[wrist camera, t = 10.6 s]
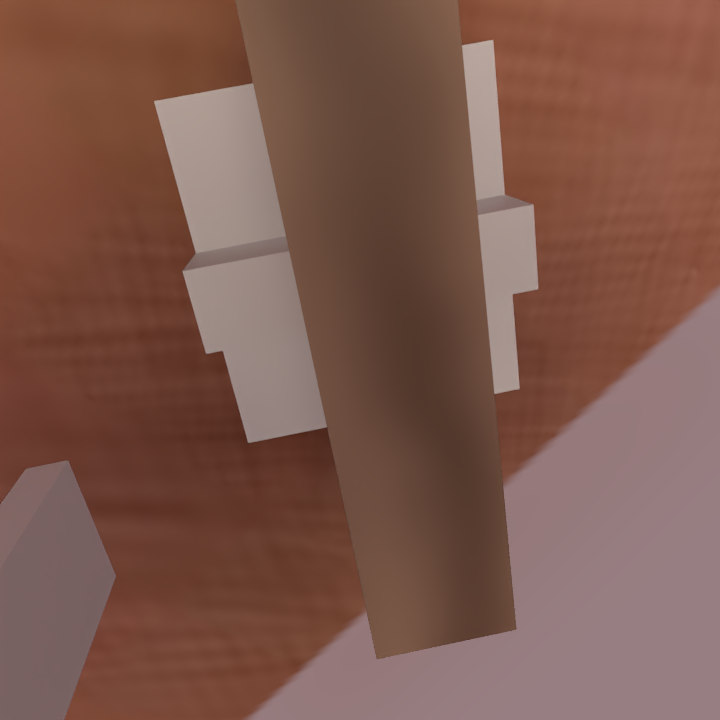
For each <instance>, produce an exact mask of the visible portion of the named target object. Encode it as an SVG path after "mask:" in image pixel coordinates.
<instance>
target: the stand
mask: <svg viewBox="0 0 720 720" xmlns="http://www.w3.org/2000/svg"><path fill="white" fill-rule="evenodd" d="M462 50H463V61H464V72H465V83H466V93H467V104H468V115H469V126H470V137H471V147H472V158H473V169H474V180H475V190H476V201H477V212H478V223H479V233H480V244H481V255H482V266H483V276H484V287H485V298H486V309H487V319H488V330H489V341H490V352H491V362H492V373H493V384H494V394H496V393H501V392H506V391H511V390H516V389H520V387H519V374H518V361H517V348H516V335H515V322H514V309H513V295H512V294H516V293H521V292H527V291H532V290H537V289H538V274H537V257H536V240H535V223H534V206H533V204H530V203H528V202H525V201H522V200H519V199H516V198H513V197H510V196H507V195H505V190H504V177H503V164H502V151H501V138H500V124H499V111H498V98H497V85H496V72H495V59H494V45H493V40H489V41H484V42H478V43H473V44H467V45H462ZM154 103H155V106H156V110H157V114H158V117H159V121H160V125H161V128H162V132H163V135H164V139H165V143H166V146H167V150H168V154H169V157H170V161H171V164H172V168H173V172H174V175H175V179H176V183H177V186H178V190H179V194H180V197H181V201H182V204H183V208H184V212H185V215H186V219H187V223H188V226H189V230H190V234H191V237H192V241H193V244H194V248H195V252H196V254H195V255H194V256H193V258H192V259H191V260H190V262H189V263H188V264H187V266H186V267H185V268H184V270H183V271H182V272H183V275H184V278H185V282H186V285H187V289H188V292H189V296H190V299H191V303H192V306H193V310H194V313H195V317H196V320H197V324H198V327H199V331H200V334H201V338H202V341H203V345H204V348H205V352H206V354H208V353H213V352H218V351H223V353H224V357H225V361H226V364H227V368H228V372H229V375H230V379H231V382H232V386H233V390H234V393H235V397H236V401H237V404H238V408H239V411H240V415H241V419H242V422H243V426H244V430H245V433H246V437H247V441H248V443H251V442H256V441H261V440H266V439H271V438H276V437H281V436H286V435H291V434H296V433H301V432H306V431H311V430H316V429H321V428H326V427H327V425H326V420H325V416H324V411H323V406H322V402H321V397H320V392H319V388H318V383H317V378H316V374H315V369H314V364H313V360H312V355H311V350H310V346H309V341H308V336H307V332H306V327H305V322H304V318H303V313H302V308H301V304H300V299H299V295H298V290H297V285H296V281H295V276H294V271H293V267H292V262H291V257H290V253H289V248H288V243H287V239H286V234H285V229H284V225H283V220H282V215H281V211H280V206H279V201H278V197H277V192H276V187H275V183H274V178H273V174H272V169H271V164H270V160H269V155H268V150H267V146H266V141H265V136H264V132H263V127H262V122H261V118H260V113H259V108H258V104H257V99H256V94H255V90H254V85H253V83H252V84H246V85H241V86H235V87H230V88H224V89H219V90H213V91H208V92H202V93H197V94H191V95H186V96H180V97H175V98H169V99H164V100H158V101H154Z"/></svg>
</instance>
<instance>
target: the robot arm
mask: <svg viewBox="0 0 720 720" xmlns="http://www.w3.org/2000/svg"><path fill="white" fill-rule="evenodd" d="M115 578H116V575H115V572H114V570H113V568H112V565H111V563H110V560H109V558H108V556H107V553H106V551H105V548H104V546H103V543H102V541H101V539H100V536H99V534H98V531H97V529H96V527H95V524H94V522H93V519H92V517H91V514H90V512H89V510H88V507H87V505H86V502H85V500H84V498H83V495H82V493H81V490H80V488H79V485H78V483H77V481H76V478H75V476H74V473H73V471H72V469H71V466H70V464H69V461H68V460H66V461H61V462H57V463H52V464H47V465H42V466H37V467H32V468H28V469H26V470H25V471H24V472H23V474H22V475H21V477H20V478H19V479H18V481H17V482H16V483H15V485H14V486H13V487H12V489H11V490H10V492H9V493H8V494H7V496H6V497H5V498H4V500H3V501H2V503H1V504H0V720H64V719H65V716H66V713H67V711H68V708H69V705H70V702H71V700H72V697H73V694H74V691H75V688H76V686H77V683H78V680H79V677H80V675H81V672H82V669H83V666H84V663H85V661H86V658H87V655H88V652H89V650H90V647H91V644H92V641H93V639H94V636H95V633H96V630H97V627H98V625H99V622H100V619H101V616H102V614H103V611H104V608H105V605H106V602H107V600H108V597H109V594H110V591H111V589H112V586H113V583H114V580H115Z"/></svg>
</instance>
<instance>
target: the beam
mask: <svg viewBox="0 0 720 720" xmlns="http://www.w3.org/2000/svg"><path fill="white" fill-rule="evenodd" d="M235 1H236V6H237V11H238V15H239V20H240V25H241V29H242V34H243V39H244V43H245V48H246V53H247V57H248V62H249V67H250V71H251V76H252V80H253V85H254V90H255V94H256V99H257V104H258V108H259V113H260V118H261V122H262V127H263V132H264V136H265V141H266V146H267V150H268V155H269V160H270V164H271V169H272V174H273V178H274V183H275V187H276V192H277V197H278V201H279V206H280V211H281V215H282V220H283V225H284V229H285V234H286V239H287V243H288V248H289V253H290V257H291V262H292V267H293V271H294V276H295V281H296V285H297V290H298V295H299V299H300V304H301V308H302V313H303V318H304V322H305V327H306V332H307V336H308V341H309V346H310V350H311V355H312V360H313V364H314V369H315V374H316V378H317V383H318V388H319V392H320V397H321V402H322V406H323V411H324V416H325V420H326V425H327V429H328V434H329V439H330V443H331V448H332V453H333V457H334V462H335V467H336V471H337V476H338V481H339V485H340V490H341V495H342V499H343V504H344V509H345V513H346V518H347V523H348V527H349V532H350V536H351V541H352V546H353V550H354V555H355V560H356V564H357V569H358V574H359V578H360V583H361V588H362V592H363V597H364V602H365V606H366V611H367V616H368V620H369V624H370V629H371V634H372V639H373V643H374V648H375V653H376V657H377V659H380V658H385V657H389V656H394V655H398V654H404V653H408V652H413V651H418V650H422V649H427V648H432V647H436V646H441V645H445V644H450V643H455V642H460V641H465V640H470V639H474V638H479V637H484V636H488V635H493V634H498V633H502V632H507V631H512V630H516V621H515V610H514V599H513V589H512V578H511V567H510V556H509V545H508V534H507V524H506V513H505V502H504V491H503V481H502V470H501V459H500V448H499V438H498V427H497V416H496V405H495V395H494V384H493V373H492V362H491V352H490V341H489V330H488V319H487V309H486V298H485V287H484V276H483V266H482V255H481V244H480V233H479V223H478V212H477V201H476V190H475V180H474V169H473V158H472V147H471V137H470V126H469V115H468V104H467V93H466V83H465V72H464V61H463V50H462V40H461V29H460V18H459V7H458V0H235Z"/></svg>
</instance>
